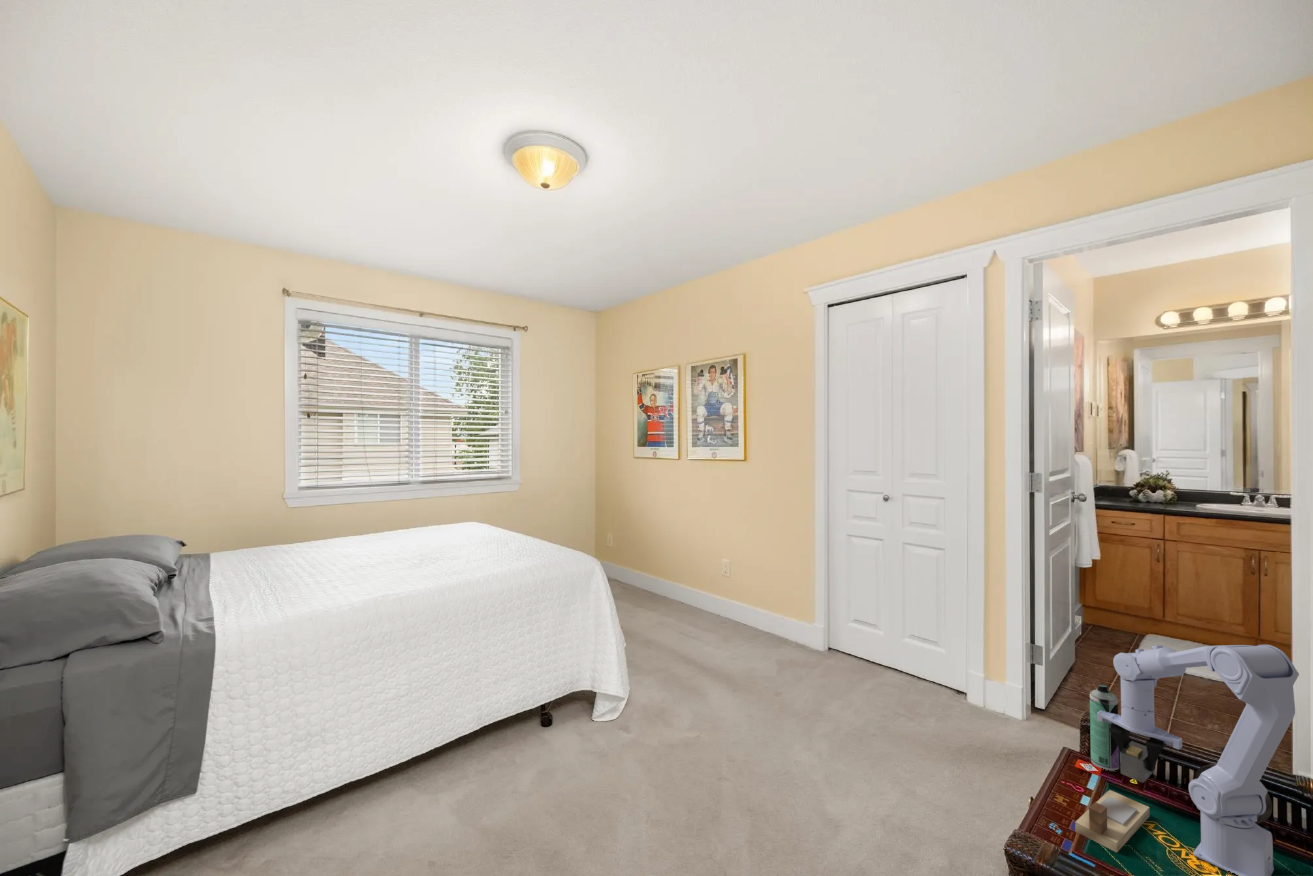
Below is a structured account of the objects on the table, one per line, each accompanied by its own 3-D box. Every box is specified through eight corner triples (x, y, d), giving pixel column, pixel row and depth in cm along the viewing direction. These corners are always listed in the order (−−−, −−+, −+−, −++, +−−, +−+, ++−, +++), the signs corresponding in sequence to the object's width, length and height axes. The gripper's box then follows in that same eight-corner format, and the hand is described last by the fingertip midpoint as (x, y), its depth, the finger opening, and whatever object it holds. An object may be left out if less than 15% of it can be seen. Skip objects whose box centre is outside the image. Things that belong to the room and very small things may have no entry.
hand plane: (1149, 816, 118) (1148, 786, 118) (1116, 852, 108) (1116, 820, 108) (1109, 798, 124) (1109, 770, 124) (1075, 831, 114) (1074, 800, 114)
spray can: (1124, 772, 132) (1122, 691, 132) (1098, 770, 134) (1097, 690, 133) (1110, 759, 138) (1109, 681, 138) (1086, 757, 139) (1084, 679, 139)
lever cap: (1154, 770, 124) (1153, 745, 123) (1143, 783, 120) (1142, 757, 120) (1132, 761, 127) (1131, 737, 127) (1120, 773, 123) (1119, 748, 123)
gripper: (1186, 714, 119) (1187, 774, 120) (1105, 688, 132) (1106, 743, 132) (1175, 724, 116) (1176, 786, 116) (1093, 696, 128) (1094, 753, 128)
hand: (1138, 764), depth 124 cm, fingers closed on lever cap, 4 cm apart
